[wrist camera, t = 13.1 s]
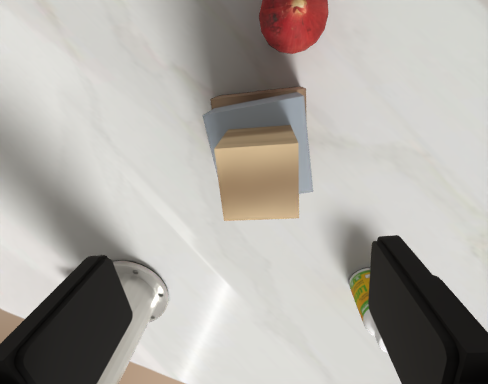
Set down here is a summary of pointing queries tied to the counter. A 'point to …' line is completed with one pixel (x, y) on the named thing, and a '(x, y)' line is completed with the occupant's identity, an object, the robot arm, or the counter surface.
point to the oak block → (258, 173)
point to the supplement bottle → (364, 302)
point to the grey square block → (265, 125)
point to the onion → (293, 23)
